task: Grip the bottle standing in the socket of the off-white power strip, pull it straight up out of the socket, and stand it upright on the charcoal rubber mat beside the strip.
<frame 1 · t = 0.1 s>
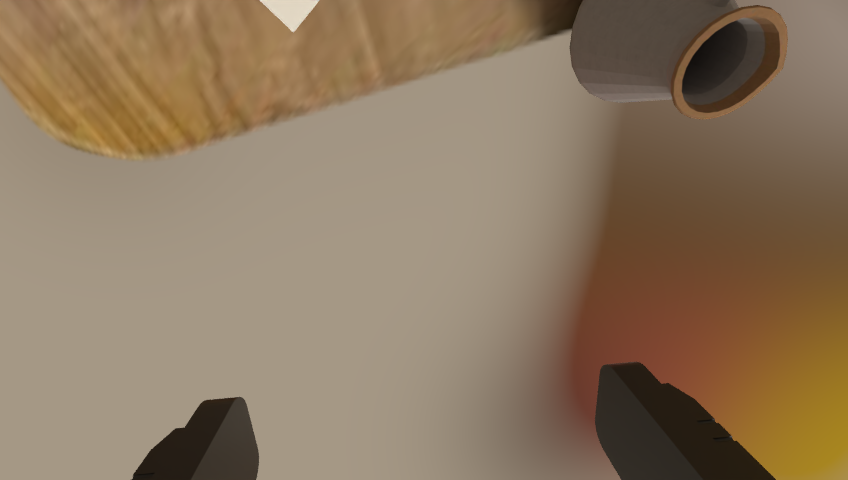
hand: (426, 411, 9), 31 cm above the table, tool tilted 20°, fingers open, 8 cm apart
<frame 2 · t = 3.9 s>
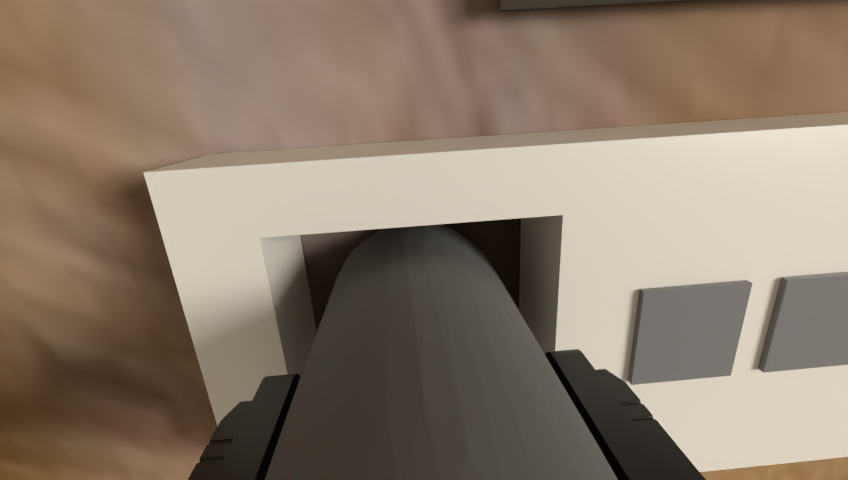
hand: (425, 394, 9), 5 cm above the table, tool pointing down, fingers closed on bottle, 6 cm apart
bottle: (416, 294, 14), resting in power strip, touching gripper
power strip: (552, 286, 14), on the table
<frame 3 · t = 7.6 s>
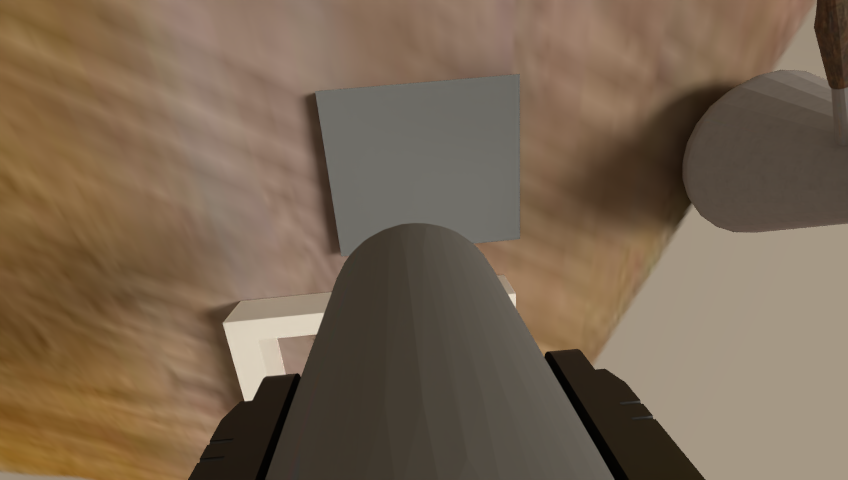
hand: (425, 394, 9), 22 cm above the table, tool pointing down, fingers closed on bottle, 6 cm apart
bottle: (416, 295, 14), point 17 cm above the table, touching gripper
coffee pot: (694, 110, 30), on the table
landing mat: (424, 168, 30), on the table
power strip: (381, 344, 35), on the table
when the fingers open (7 cm above the table, at t = 11.6 s): bottle drops 1 cm, resting on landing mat.
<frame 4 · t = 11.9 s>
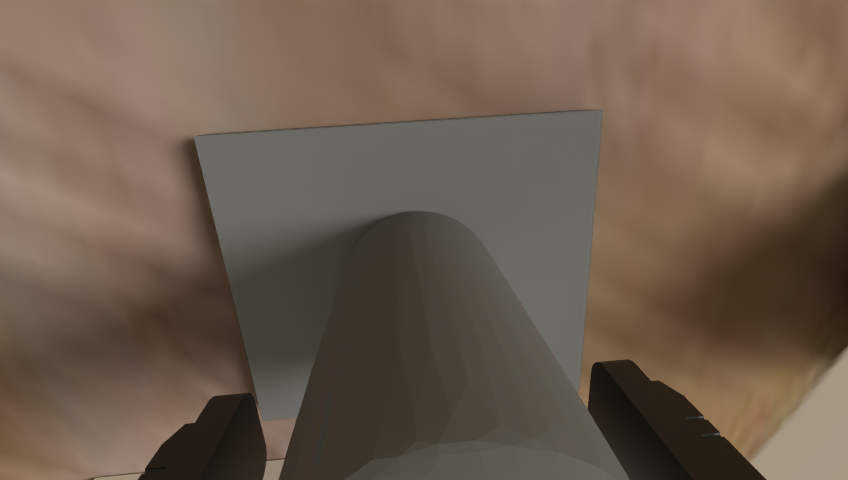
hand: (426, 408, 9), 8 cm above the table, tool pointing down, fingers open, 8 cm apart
bottle: (418, 279, 16), point 1 cm above the table, touching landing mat
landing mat: (413, 270, 17), on the table
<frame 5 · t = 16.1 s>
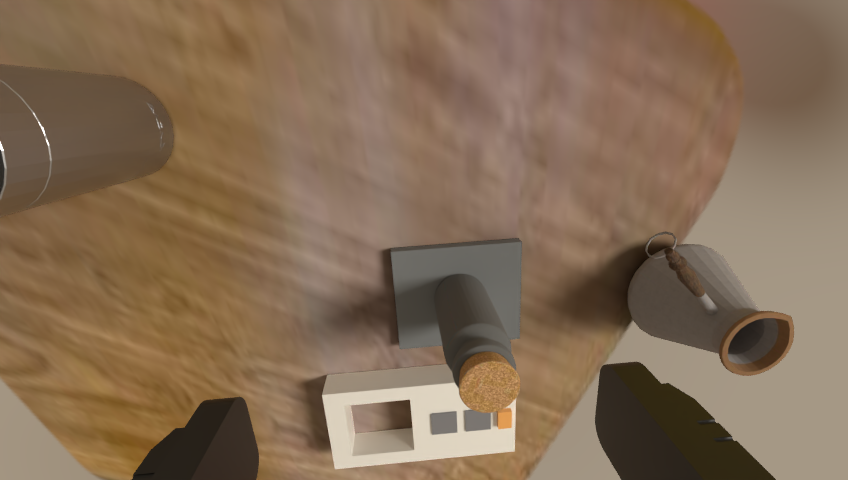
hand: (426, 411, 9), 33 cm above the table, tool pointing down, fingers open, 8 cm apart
bottle: (459, 296, 44), point 1 cm above the table, touching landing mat
coffee pot: (636, 257, 45), on the table
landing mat: (456, 292, 45), on the table
power strip: (421, 403, 50), on the table
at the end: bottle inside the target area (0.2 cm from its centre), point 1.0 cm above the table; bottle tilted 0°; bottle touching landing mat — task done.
